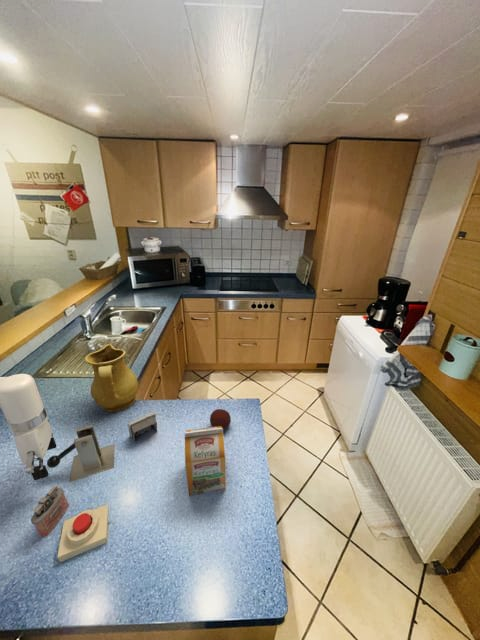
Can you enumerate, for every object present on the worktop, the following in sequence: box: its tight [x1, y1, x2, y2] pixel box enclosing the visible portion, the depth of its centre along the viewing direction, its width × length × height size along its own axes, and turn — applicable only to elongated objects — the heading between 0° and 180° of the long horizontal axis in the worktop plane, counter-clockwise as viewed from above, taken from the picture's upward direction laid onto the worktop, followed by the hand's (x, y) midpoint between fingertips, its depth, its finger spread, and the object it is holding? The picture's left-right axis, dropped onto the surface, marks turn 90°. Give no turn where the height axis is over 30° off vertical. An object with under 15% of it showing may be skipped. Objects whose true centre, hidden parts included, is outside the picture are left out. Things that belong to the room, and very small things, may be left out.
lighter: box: [30, 485, 70, 538], centre depth 63 cm, size 8×3×10 cm, turn 170°
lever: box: [46, 430, 93, 469], centre depth 74 cm, size 14×3×3 cm
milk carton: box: [184, 426, 227, 497], centre depth 73 cm, size 11×11×19 cm
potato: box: [209, 408, 232, 431], centre depth 92 cm, size 7×8×7 cm
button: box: [73, 513, 91, 534], centre depth 61 cm, size 4×4×2 cm
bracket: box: [68, 424, 116, 483], centre depth 77 cm, size 12×9×14 cm
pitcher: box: [84, 343, 139, 413], centre depth 99 cm, size 17×19×25 cm
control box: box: [56, 504, 110, 563], centre depth 62 cm, size 10×8×4 cm
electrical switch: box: [127, 411, 158, 442], centre depth 87 cm, size 9×5×9 cm, turn 127°
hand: (46, 462), depth 73 cm, fingers open, 9 cm apart
